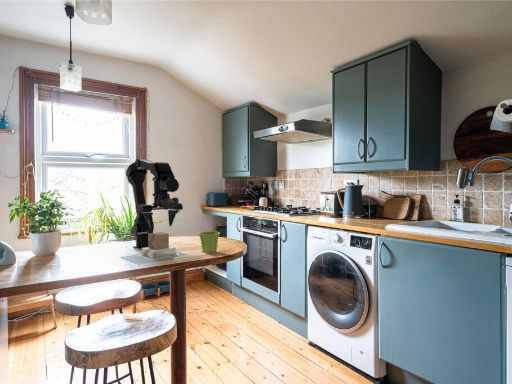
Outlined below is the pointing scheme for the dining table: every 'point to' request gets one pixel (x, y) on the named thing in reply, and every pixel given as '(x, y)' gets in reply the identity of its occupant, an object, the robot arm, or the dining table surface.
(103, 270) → the dining table surface
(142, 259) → the board
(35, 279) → the dining table surface
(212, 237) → the plant pot
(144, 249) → the plinth
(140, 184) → the robot arm
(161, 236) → the walnut cube
